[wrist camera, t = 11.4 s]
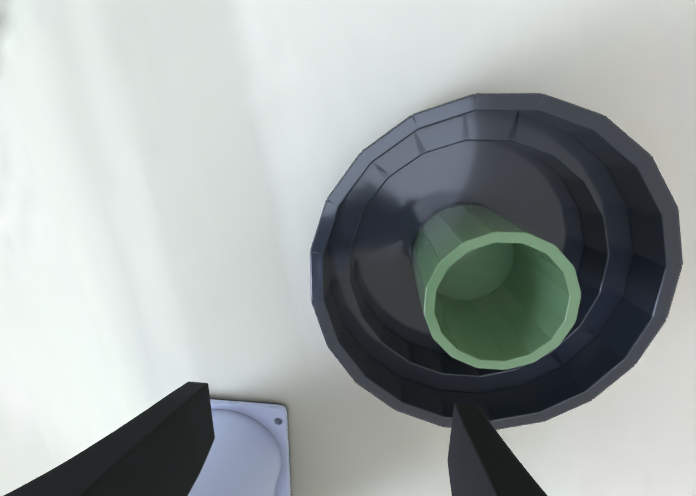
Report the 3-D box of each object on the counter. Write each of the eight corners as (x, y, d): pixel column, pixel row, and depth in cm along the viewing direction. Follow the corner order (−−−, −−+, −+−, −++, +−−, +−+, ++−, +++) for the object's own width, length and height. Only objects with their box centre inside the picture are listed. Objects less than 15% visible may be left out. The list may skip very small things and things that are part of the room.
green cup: (510, 305, 19) (565, 374, 13) (408, 300, 19) (419, 364, 14) (525, 205, 18) (594, 234, 12) (415, 202, 18) (429, 229, 12)
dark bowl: (579, 380, 20) (632, 442, 16) (327, 363, 22) (313, 416, 18) (641, 106, 16) (733, 92, 12) (324, 106, 18) (306, 93, 13)
